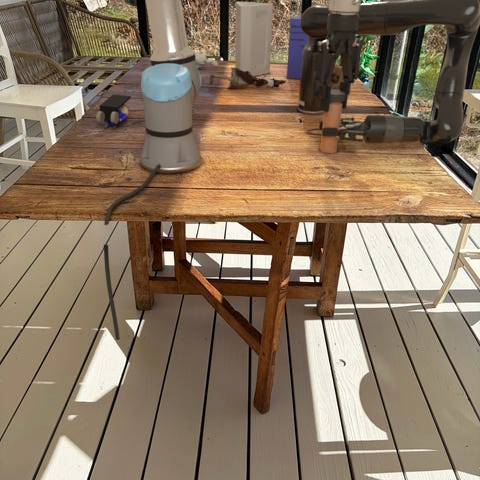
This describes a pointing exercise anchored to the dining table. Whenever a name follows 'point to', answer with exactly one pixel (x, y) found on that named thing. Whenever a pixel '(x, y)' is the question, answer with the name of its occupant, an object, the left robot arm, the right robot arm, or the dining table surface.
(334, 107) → the wooden cylinder
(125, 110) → the figurine character
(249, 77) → the figurine
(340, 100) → the lid
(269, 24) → the tall white carton
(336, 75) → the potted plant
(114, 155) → the dining table surface
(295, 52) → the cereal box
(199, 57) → the toy
